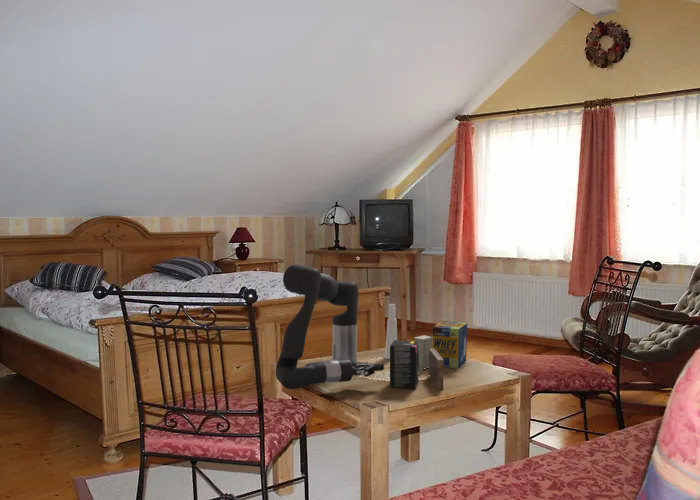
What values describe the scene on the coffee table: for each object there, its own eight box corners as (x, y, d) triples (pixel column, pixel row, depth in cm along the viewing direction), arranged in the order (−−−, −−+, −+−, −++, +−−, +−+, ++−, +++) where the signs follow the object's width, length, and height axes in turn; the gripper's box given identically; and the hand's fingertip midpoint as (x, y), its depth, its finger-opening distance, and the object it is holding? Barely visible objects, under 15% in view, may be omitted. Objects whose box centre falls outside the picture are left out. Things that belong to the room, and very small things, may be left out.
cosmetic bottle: (398, 359, 273) (399, 305, 271) (383, 359, 274) (384, 305, 272) (399, 356, 279) (400, 303, 277) (384, 355, 280) (385, 303, 278)
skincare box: (423, 365, 263) (424, 335, 262) (432, 368, 259) (433, 336, 259) (412, 368, 258) (413, 337, 258) (421, 370, 255) (422, 338, 254)
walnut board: (437, 388, 230) (437, 359, 229) (428, 375, 248) (429, 348, 247) (443, 388, 230) (443, 359, 229) (434, 375, 248) (434, 348, 247)
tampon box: (416, 389, 229) (416, 346, 228) (389, 387, 231) (389, 345, 230) (419, 381, 240) (419, 340, 239) (393, 379, 242) (393, 339, 241)
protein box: (431, 366, 262) (432, 326, 261) (441, 358, 276) (442, 320, 275) (458, 369, 258) (459, 328, 257) (466, 360, 273) (467, 322, 272)
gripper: (343, 364, 219) (391, 359, 225) (328, 355, 231) (374, 351, 238) (343, 387, 219) (391, 382, 226) (328, 377, 231) (374, 372, 238)
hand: (382, 366), depth 232 cm, fingers closed
